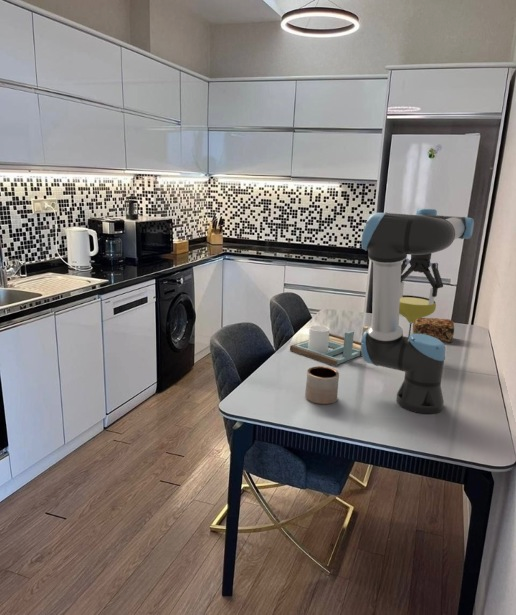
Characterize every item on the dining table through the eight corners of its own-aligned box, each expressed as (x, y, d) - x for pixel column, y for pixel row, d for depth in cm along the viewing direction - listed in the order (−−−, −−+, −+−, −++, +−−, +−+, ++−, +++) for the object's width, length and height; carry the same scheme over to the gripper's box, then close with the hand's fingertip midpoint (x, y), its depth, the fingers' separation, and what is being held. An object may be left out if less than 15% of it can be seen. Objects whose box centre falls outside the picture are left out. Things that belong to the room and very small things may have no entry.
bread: (450, 337, 237) (453, 318, 235) (452, 343, 227) (455, 323, 225) (411, 332, 242) (414, 313, 240) (412, 338, 232) (414, 319, 230)
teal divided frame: (336, 364, 193) (339, 336, 190) (294, 350, 208) (296, 323, 205) (359, 355, 205) (362, 328, 202) (318, 342, 220) (320, 317, 217)
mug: (335, 350, 211) (337, 327, 208) (319, 356, 202) (321, 332, 199) (320, 345, 216) (321, 323, 213) (303, 351, 208) (305, 328, 205)
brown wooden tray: (335, 366, 192) (335, 361, 191) (289, 350, 208) (290, 345, 207) (372, 350, 212) (373, 346, 212) (328, 337, 228) (329, 333, 228)
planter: (329, 408, 155) (331, 381, 153) (299, 399, 161) (301, 373, 158) (341, 396, 164) (344, 371, 162) (313, 388, 170) (315, 363, 167)
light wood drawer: (362, 354, 206) (364, 328, 203) (320, 341, 221) (322, 317, 218) (370, 350, 211) (373, 325, 208) (329, 338, 226) (331, 314, 223)
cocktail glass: (404, 365, 197) (411, 306, 190) (377, 350, 212) (383, 296, 206) (437, 360, 204) (445, 303, 198) (408, 346, 220) (415, 294, 214)
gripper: (457, 252, 181) (449, 306, 186) (398, 244, 198) (392, 294, 203) (448, 253, 176) (440, 308, 181) (388, 245, 193) (382, 296, 198)
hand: (414, 301), depth 192 cm, fingers open, 13 cm apart
